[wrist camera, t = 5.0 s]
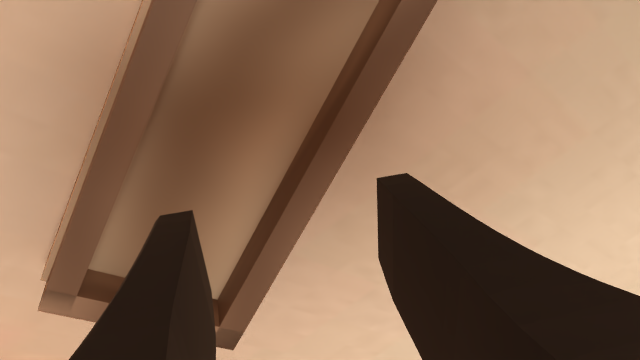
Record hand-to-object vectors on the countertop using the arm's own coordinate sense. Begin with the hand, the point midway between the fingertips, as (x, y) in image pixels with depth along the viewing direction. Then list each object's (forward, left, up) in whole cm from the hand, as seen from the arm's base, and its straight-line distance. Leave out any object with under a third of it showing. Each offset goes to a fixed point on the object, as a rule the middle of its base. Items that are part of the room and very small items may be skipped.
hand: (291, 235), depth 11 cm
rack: (0, 0, -9) cm, 9 cm away
